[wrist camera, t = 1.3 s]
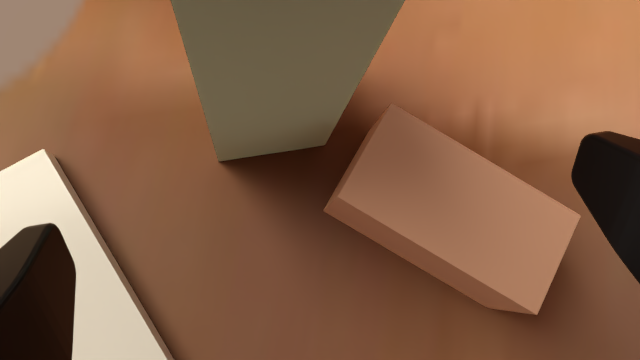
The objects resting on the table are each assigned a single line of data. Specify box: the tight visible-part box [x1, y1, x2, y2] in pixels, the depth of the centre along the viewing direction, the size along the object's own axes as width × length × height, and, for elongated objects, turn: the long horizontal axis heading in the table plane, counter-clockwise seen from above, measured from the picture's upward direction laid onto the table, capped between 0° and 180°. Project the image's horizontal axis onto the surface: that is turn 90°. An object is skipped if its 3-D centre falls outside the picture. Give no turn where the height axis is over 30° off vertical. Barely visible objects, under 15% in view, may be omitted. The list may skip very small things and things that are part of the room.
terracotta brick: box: [323, 103, 581, 315], centre depth 20 cm, size 8×4×4 cm, turn 60°
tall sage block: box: [171, 0, 405, 161], centre depth 15 cm, size 4×4×12 cm
